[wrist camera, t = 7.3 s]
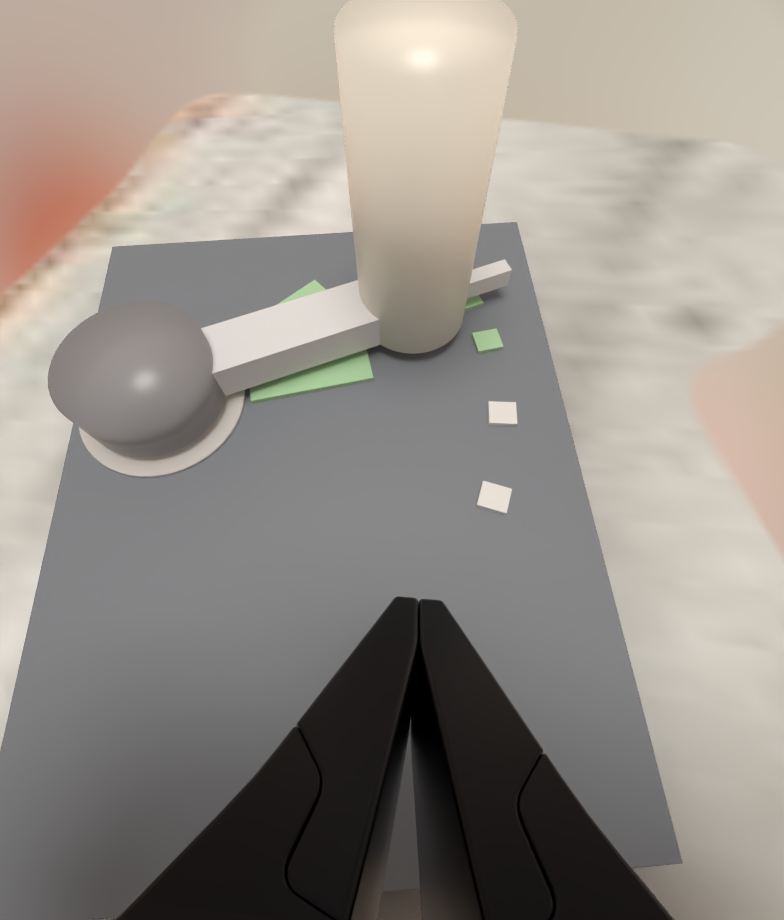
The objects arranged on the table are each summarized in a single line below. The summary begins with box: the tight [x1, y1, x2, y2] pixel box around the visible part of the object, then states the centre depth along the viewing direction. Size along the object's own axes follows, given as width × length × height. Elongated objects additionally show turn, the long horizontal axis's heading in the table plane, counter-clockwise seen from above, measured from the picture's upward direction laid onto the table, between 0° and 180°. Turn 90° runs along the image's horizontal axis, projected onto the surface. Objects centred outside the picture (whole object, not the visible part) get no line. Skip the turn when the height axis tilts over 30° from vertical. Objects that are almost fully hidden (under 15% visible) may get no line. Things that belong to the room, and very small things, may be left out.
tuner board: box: [0, 222, 682, 920], centre depth 17 cm, size 23×18×1 cm
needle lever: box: [48, 0, 518, 458], centre depth 14 cm, size 16×5×9 cm, turn 112°
